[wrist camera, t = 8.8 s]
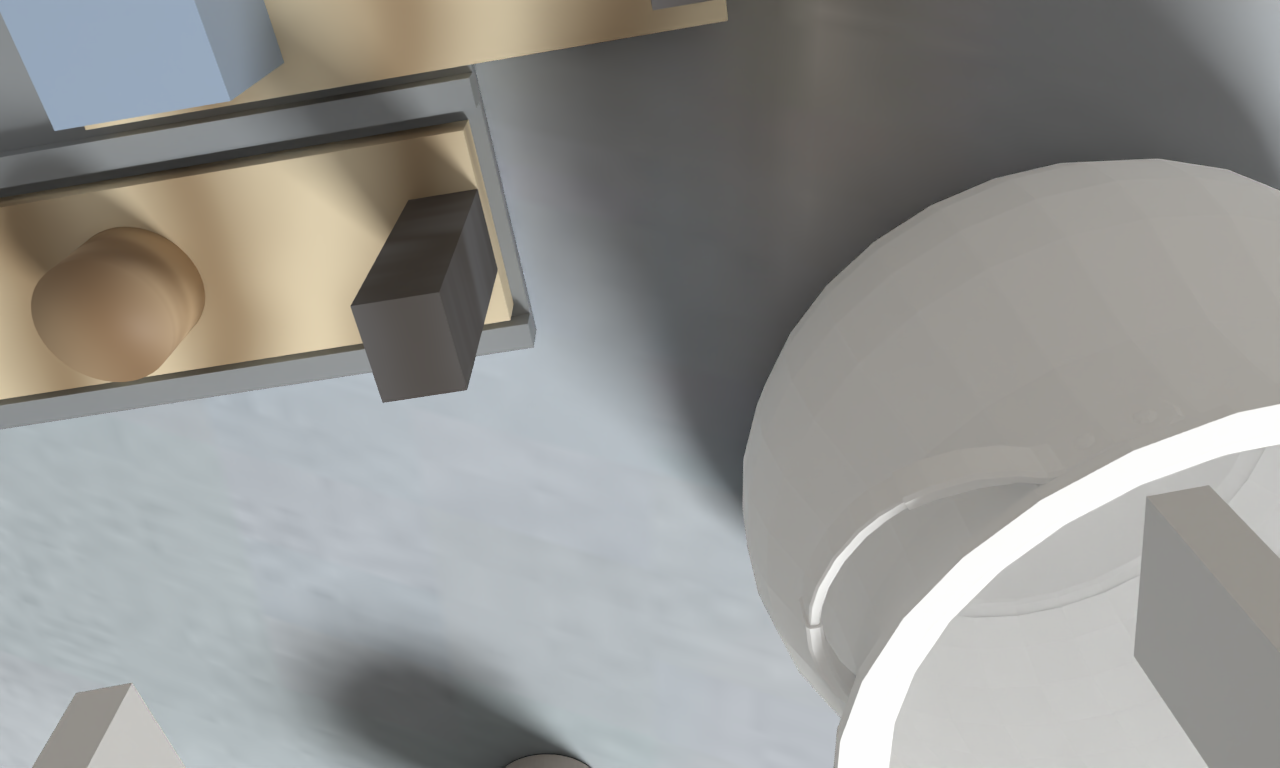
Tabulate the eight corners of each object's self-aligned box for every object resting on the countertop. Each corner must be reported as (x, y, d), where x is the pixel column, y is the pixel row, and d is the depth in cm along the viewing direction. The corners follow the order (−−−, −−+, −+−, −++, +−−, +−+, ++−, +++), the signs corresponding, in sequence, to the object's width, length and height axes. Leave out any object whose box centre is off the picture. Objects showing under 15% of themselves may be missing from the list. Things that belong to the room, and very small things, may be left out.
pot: (1473, 295, 38) (2005, 582, 24) (1080, 698, 49) (1280, 1069, 34) (933, -6, 32) (1200, 130, 18) (619, 528, 43) (623, 890, 28)
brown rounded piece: (108, 350, 36) (68, 391, 33) (52, 238, 33) (5, 272, 31) (224, 330, 35) (193, 370, 33) (175, 217, 33) (138, 249, 31)
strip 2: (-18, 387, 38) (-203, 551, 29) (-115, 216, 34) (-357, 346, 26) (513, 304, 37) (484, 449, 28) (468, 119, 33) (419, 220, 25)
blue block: (132, 88, 31) (54, 130, 27) (62, -83, 29) (-37, -67, 24) (284, 62, 31) (230, 101, 26) (226, -113, 28) (157, -103, 24)
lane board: (-3, 412, 39) (-24, 433, 38) (-301, -112, 30) (-343, -109, 29) (536, 329, 38) (533, 347, 37) (401, -244, 29) (391, -248, 27)
